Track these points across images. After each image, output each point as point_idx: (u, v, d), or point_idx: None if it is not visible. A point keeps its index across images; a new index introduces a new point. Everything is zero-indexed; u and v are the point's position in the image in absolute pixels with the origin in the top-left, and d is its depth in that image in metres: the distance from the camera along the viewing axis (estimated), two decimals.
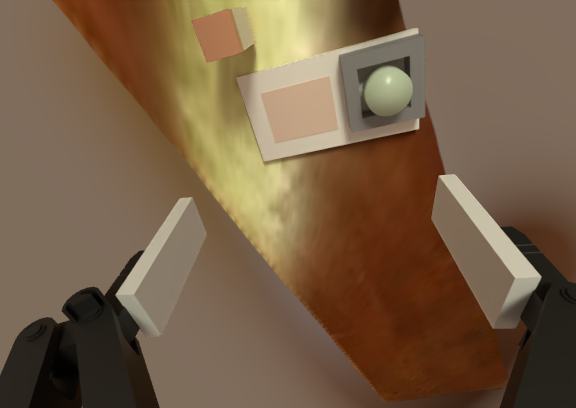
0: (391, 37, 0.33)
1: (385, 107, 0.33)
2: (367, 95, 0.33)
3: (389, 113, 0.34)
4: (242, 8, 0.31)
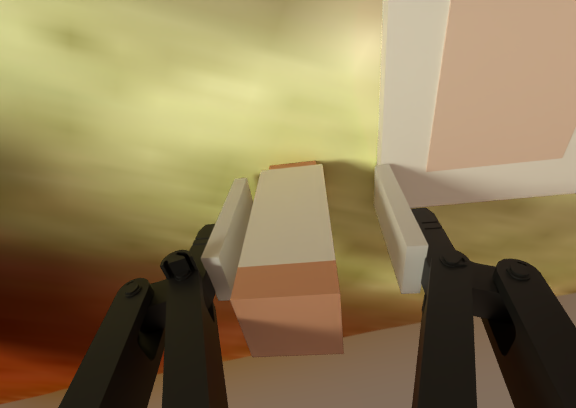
0: None
1: None
2: None
3: None
4: (257, 191, 0.15)
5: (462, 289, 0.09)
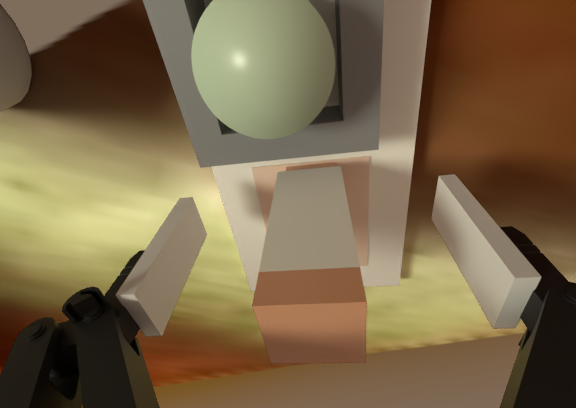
0: None
1: (305, 81, 0.10)
2: (263, 136, 0.11)
3: (326, 65, 0.10)
4: (274, 193, 0.14)
5: None
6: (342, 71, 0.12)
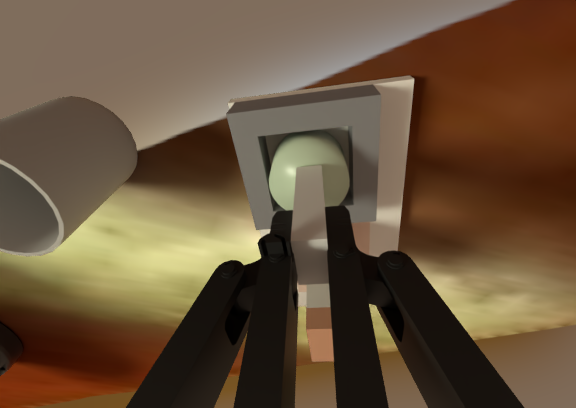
0: None
1: (332, 189, 0.18)
2: None
3: (344, 182, 0.18)
4: None
5: (355, 276, 0.10)
6: (353, 178, 0.19)
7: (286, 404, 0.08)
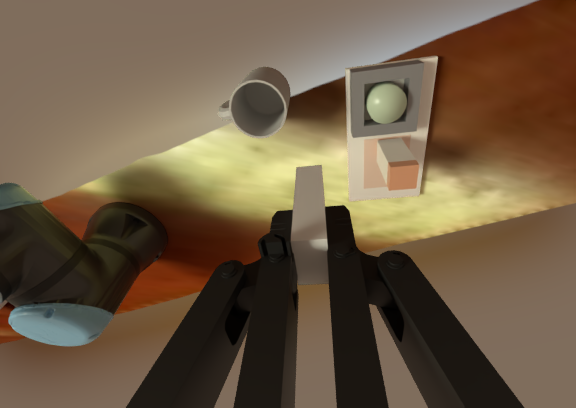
0: (347, 91, 0.42)
1: (398, 108, 0.39)
2: (383, 122, 0.40)
3: (404, 104, 0.39)
4: (380, 146, 0.42)
5: (355, 276, 0.10)
6: (407, 106, 0.40)
7: (286, 404, 0.08)
